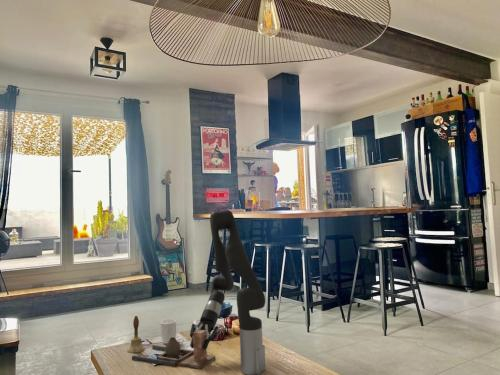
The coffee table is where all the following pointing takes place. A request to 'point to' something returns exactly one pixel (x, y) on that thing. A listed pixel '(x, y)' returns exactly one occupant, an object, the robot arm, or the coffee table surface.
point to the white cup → (168, 330)
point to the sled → (192, 353)
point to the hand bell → (136, 339)
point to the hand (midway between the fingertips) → (197, 348)
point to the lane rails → (152, 360)
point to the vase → (173, 348)
